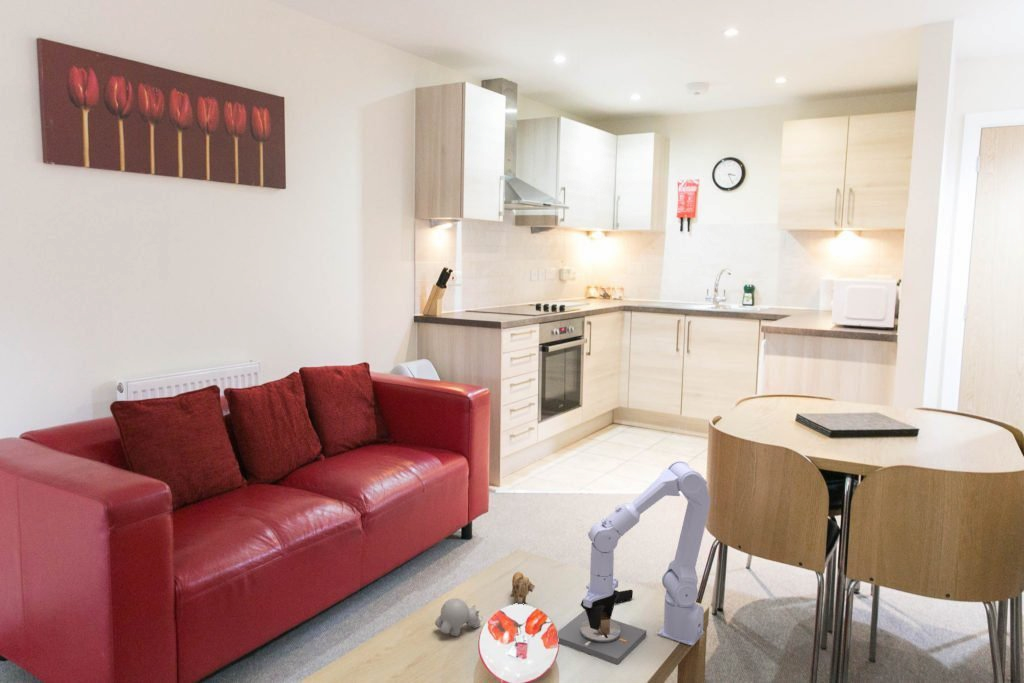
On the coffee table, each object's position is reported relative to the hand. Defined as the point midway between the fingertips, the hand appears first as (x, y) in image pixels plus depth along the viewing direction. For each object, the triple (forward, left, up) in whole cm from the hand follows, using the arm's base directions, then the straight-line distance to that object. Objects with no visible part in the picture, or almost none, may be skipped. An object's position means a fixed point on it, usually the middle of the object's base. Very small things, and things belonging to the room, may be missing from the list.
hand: (600, 623), depth 182 cm
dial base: (0, 0, -4) cm, 4 cm away
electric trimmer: (+8, -18, -5) cm, 20 cm away
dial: (0, 0, -2) cm, 2 cm away
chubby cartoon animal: (+31, +18, -4) cm, 36 cm away
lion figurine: (+28, -5, -4) cm, 29 cm away
